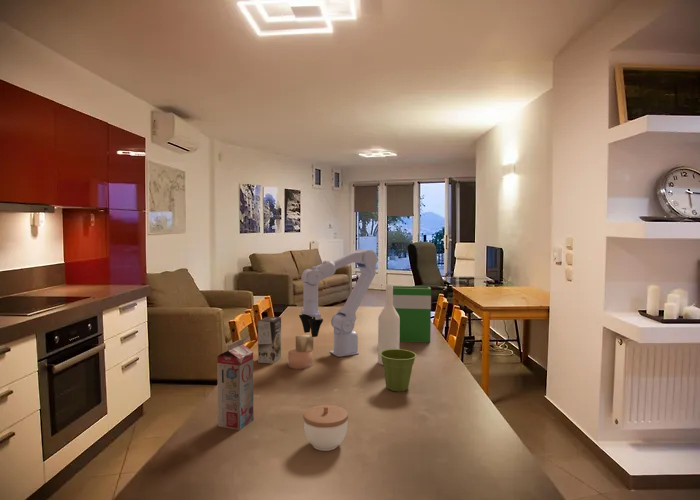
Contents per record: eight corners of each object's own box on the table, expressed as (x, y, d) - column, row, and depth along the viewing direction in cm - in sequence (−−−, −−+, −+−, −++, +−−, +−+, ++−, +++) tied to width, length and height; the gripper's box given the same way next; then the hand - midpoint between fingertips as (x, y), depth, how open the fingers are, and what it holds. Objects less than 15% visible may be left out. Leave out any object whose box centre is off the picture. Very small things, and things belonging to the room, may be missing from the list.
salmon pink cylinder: (306, 360, 180) (305, 347, 180) (316, 366, 173) (316, 353, 172) (284, 364, 176) (284, 351, 175) (294, 370, 168) (294, 357, 168)
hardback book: (390, 341, 210) (391, 288, 208) (390, 337, 217) (391, 285, 216) (430, 342, 208) (431, 289, 207) (429, 338, 215) (429, 286, 214)
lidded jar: (303, 435, 117) (303, 398, 116) (346, 434, 118) (346, 397, 117) (302, 456, 106) (302, 416, 106) (349, 455, 107) (349, 415, 107)
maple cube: (295, 349, 178) (307, 347, 181) (301, 352, 174) (313, 350, 176) (295, 336, 178) (307, 334, 180) (301, 339, 173) (313, 337, 176)
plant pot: (392, 397, 143) (392, 361, 142) (372, 385, 153) (372, 351, 152) (423, 391, 148) (424, 356, 147) (402, 379, 159) (403, 347, 158)
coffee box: (273, 364, 175) (273, 321, 174) (257, 362, 176) (257, 320, 175) (281, 357, 184) (281, 316, 183) (266, 356, 185) (266, 316, 184)
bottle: (402, 361, 179) (403, 284, 178) (395, 367, 172) (396, 286, 170) (382, 358, 183) (383, 282, 181) (374, 364, 175) (375, 285, 174)
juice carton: (253, 419, 126) (253, 339, 125) (240, 430, 120) (239, 345, 118) (232, 416, 128) (231, 337, 127) (218, 426, 122) (217, 343, 121)
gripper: (294, 298, 186) (294, 331, 187) (308, 303, 173) (308, 339, 174) (310, 296, 189) (310, 329, 190) (325, 302, 176) (325, 337, 177)
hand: (310, 334), depth 182 cm, fingers open, 7 cm apart
